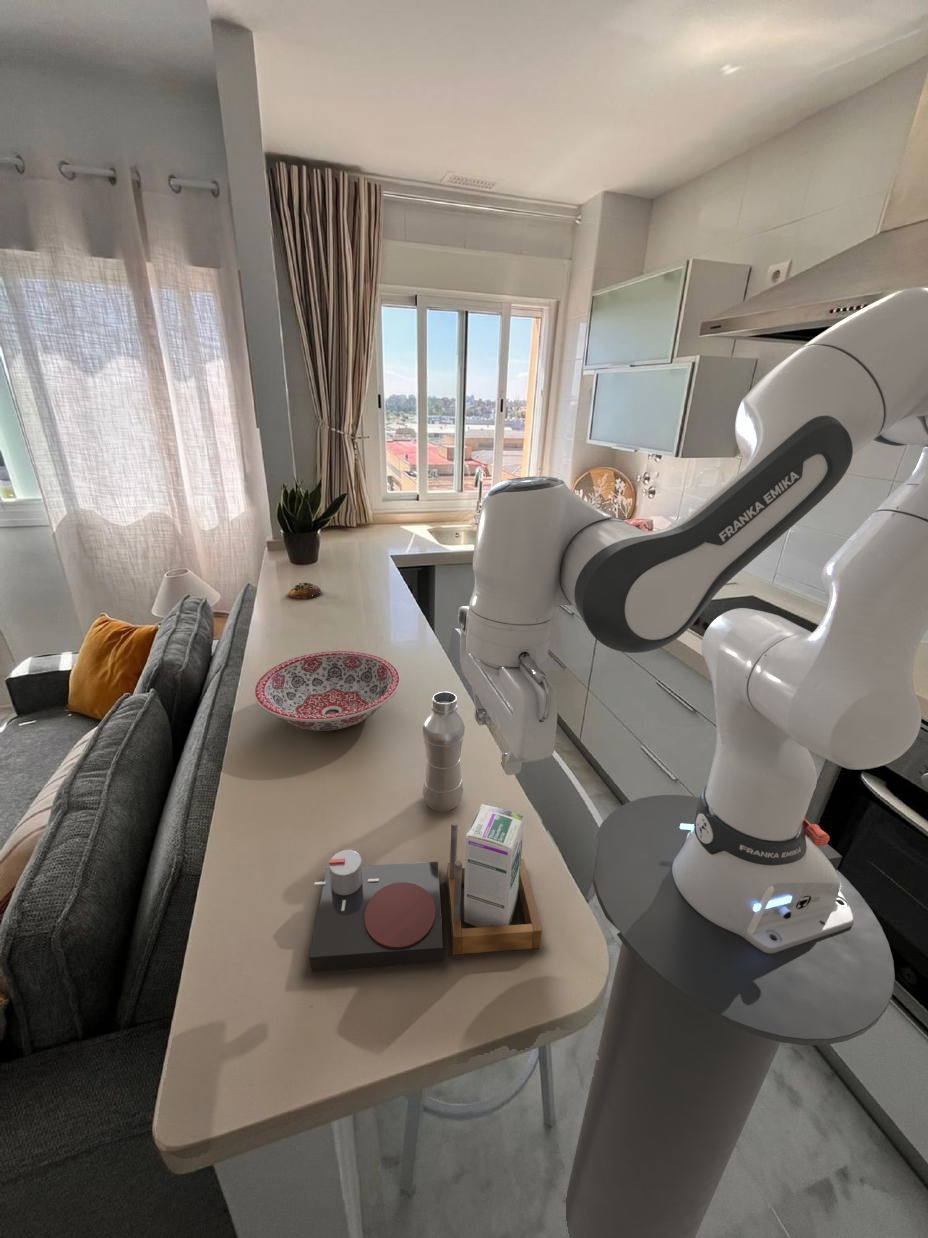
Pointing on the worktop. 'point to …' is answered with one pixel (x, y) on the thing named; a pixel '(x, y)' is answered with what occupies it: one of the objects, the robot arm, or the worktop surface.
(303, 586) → the bread roll
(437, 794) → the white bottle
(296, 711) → the ceramic bowl
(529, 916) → the brown wooden holder
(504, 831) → the syrup box
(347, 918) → the hob
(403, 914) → the hotplate
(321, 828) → the worktop surface
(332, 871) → the hob knob
